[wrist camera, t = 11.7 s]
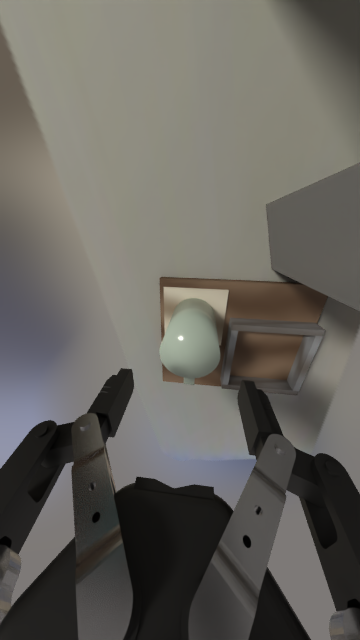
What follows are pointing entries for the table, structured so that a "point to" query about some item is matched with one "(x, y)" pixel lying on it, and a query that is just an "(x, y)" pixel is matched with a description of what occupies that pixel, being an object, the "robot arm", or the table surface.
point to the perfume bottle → (320, 236)
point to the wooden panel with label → (253, 330)
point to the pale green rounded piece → (191, 341)
